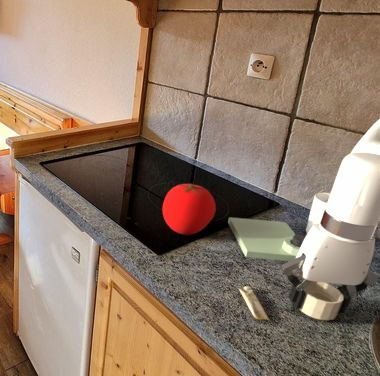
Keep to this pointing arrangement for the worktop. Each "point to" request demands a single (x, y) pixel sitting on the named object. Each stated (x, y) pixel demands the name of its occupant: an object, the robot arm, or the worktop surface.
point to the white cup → (317, 209)
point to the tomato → (188, 208)
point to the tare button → (297, 240)
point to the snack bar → (253, 303)
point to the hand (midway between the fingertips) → (315, 305)
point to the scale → (264, 239)
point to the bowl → (321, 301)
